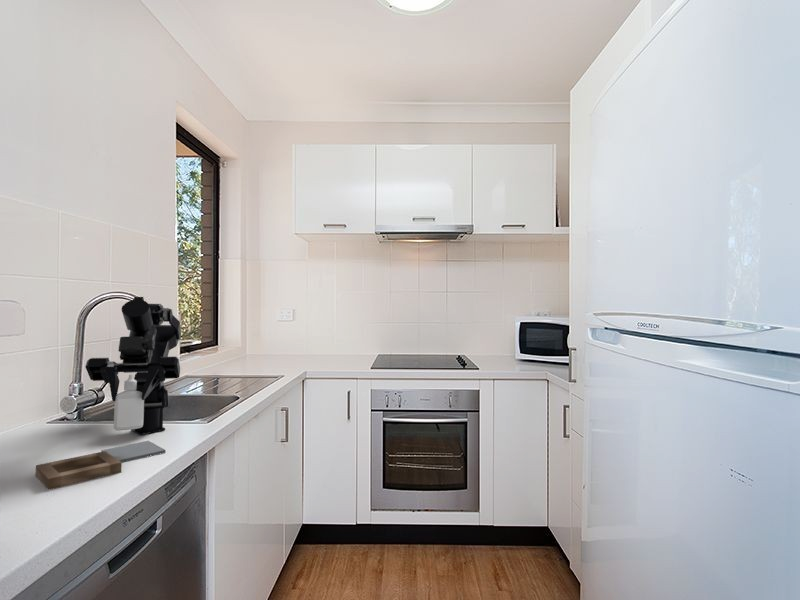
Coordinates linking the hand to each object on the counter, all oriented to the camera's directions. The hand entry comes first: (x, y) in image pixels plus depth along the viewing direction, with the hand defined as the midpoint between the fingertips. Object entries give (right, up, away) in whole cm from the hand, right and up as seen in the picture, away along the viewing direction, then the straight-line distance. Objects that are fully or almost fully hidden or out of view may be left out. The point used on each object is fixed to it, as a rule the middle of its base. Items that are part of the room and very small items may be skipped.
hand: (128, 399), depth 101 cm
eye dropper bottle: (0, -7, +1) cm, 7 cm away
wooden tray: (-4, -13, -10) cm, 17 cm away
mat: (0, -13, +3) cm, 13 cm away
